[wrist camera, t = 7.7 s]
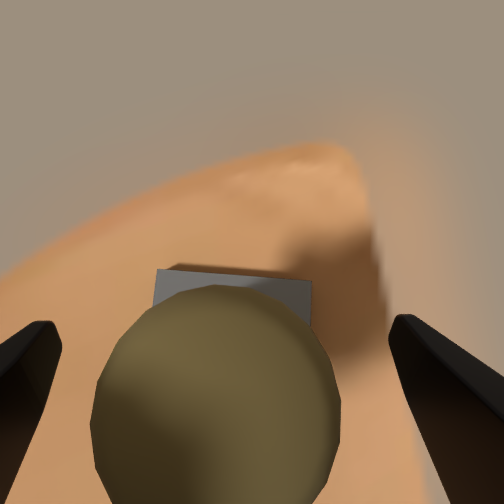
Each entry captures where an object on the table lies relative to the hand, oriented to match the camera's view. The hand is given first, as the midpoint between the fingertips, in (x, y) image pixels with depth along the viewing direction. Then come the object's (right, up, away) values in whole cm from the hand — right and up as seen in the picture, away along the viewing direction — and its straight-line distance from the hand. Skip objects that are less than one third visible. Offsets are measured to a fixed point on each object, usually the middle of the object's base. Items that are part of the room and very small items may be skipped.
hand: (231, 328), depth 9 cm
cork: (-1, -3, +8) cm, 8 cm away
